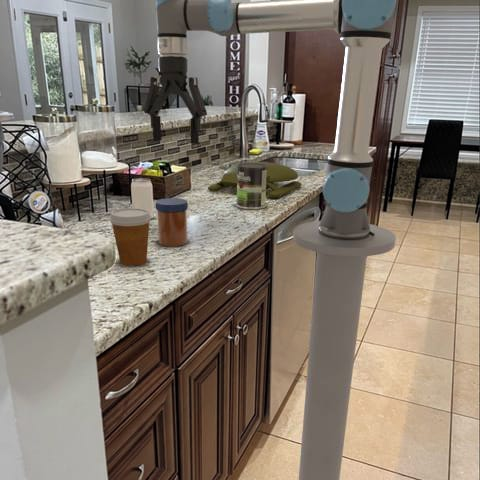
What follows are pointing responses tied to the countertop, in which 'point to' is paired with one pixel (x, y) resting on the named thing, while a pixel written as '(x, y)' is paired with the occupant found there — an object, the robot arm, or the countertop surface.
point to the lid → (171, 205)
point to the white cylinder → (142, 195)
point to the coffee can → (251, 185)
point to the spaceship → (273, 175)
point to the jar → (172, 228)
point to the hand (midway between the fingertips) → (175, 142)
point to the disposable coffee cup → (131, 234)
